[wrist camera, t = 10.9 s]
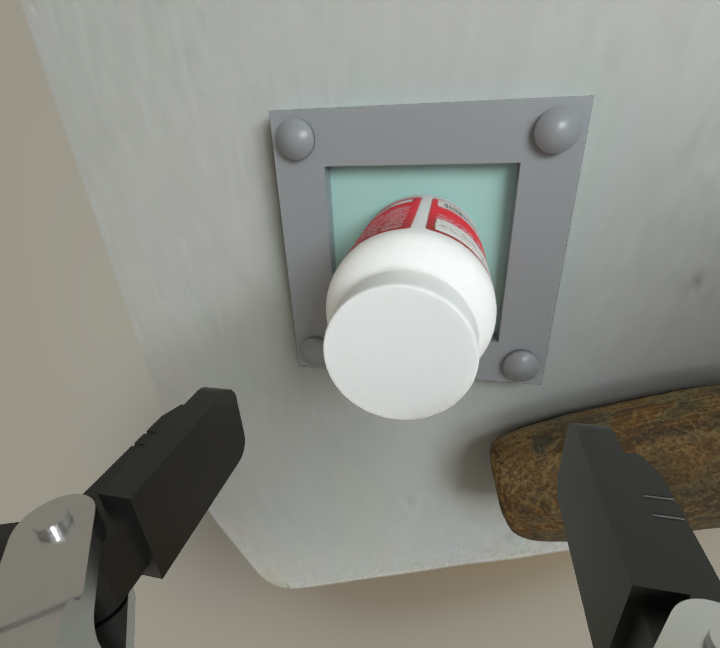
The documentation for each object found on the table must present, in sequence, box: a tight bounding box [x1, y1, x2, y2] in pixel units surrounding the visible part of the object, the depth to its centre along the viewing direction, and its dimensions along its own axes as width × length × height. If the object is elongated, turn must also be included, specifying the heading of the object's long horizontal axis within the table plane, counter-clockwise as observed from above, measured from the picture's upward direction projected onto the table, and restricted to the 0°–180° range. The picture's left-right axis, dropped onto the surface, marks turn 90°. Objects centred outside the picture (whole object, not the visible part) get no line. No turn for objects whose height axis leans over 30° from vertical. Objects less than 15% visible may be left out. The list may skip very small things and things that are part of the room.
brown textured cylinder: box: [490, 384, 720, 541], centre depth 22 cm, size 15×7×7 cm, turn 121°
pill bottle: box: [323, 194, 497, 420], centre depth 17 cm, size 6×6×11 cm
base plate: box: [269, 95, 594, 385], centre depth 22 cm, size 14×14×2 cm
